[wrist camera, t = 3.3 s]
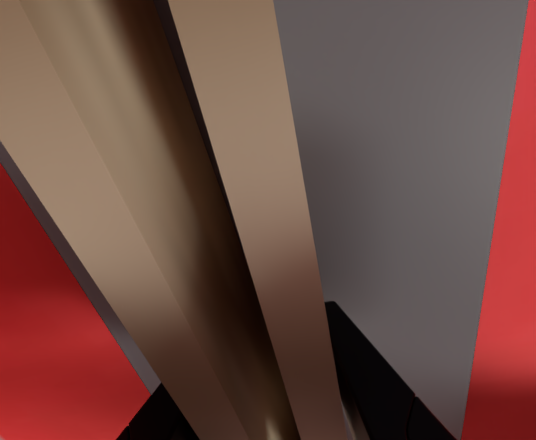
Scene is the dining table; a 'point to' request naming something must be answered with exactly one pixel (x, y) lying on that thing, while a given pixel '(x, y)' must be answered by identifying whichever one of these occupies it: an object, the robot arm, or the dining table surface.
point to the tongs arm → (140, 203)
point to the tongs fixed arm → (265, 191)
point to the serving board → (383, 172)
